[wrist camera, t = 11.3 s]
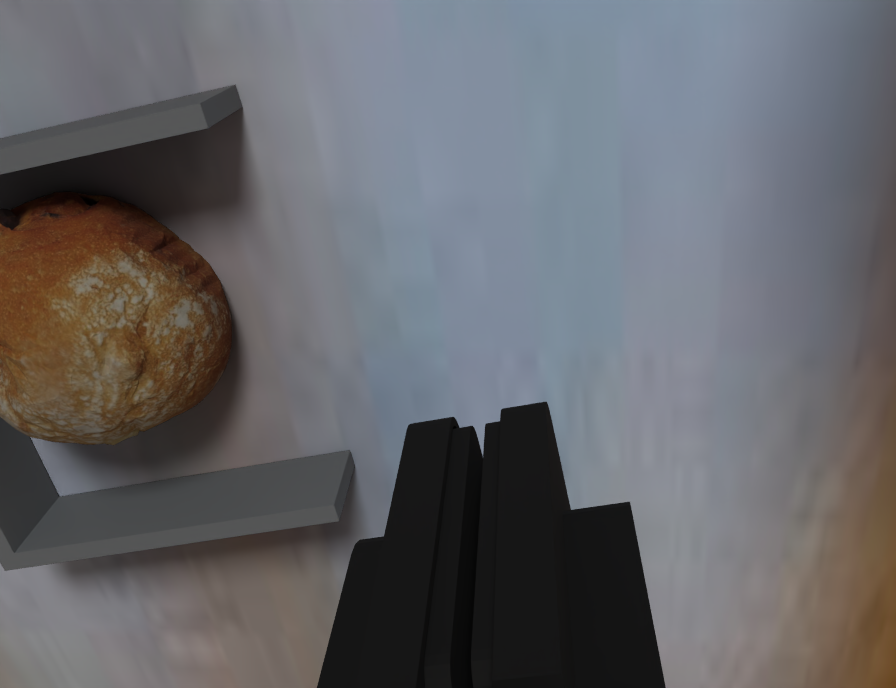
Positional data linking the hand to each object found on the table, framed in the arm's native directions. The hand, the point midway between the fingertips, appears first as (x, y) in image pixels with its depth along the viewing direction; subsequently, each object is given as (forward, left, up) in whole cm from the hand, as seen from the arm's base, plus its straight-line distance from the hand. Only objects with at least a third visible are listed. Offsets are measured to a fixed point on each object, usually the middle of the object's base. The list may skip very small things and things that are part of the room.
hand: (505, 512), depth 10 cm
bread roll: (+17, +3, -23) cm, 29 cm away
